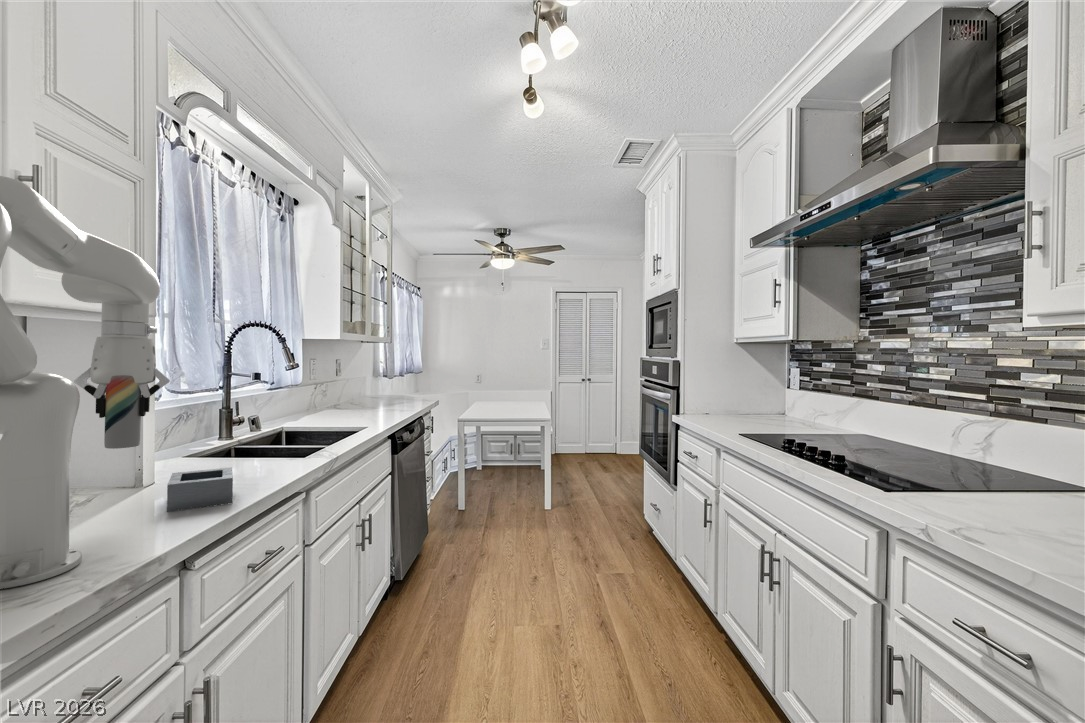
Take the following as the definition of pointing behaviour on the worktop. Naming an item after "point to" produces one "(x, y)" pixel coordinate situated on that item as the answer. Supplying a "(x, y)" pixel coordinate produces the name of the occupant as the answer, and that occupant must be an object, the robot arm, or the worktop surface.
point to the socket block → (199, 489)
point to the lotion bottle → (122, 413)
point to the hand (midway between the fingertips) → (123, 415)
